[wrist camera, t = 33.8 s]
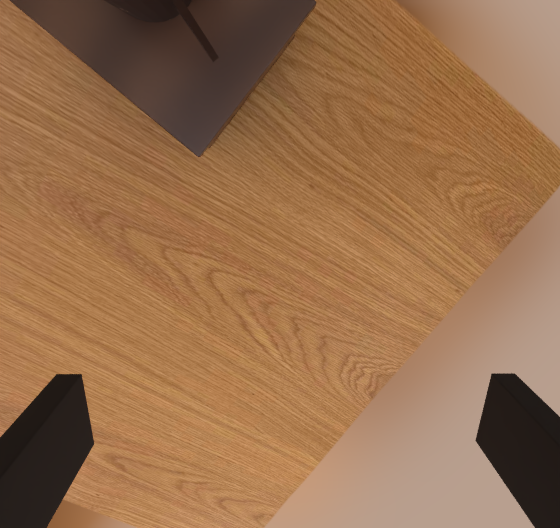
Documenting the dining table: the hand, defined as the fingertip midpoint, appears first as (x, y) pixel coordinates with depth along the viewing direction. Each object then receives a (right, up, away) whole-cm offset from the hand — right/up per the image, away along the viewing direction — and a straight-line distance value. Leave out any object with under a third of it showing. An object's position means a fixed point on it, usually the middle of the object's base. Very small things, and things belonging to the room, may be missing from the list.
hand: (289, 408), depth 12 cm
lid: (-8, +22, +13) cm, 27 cm away
